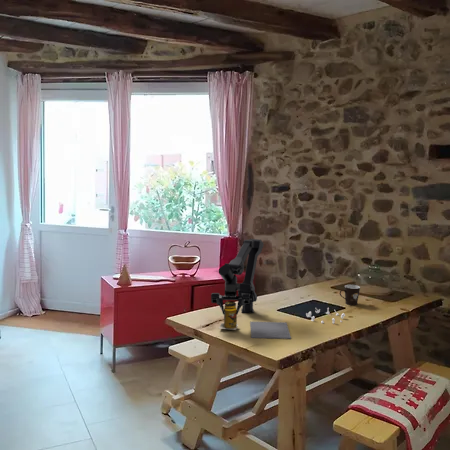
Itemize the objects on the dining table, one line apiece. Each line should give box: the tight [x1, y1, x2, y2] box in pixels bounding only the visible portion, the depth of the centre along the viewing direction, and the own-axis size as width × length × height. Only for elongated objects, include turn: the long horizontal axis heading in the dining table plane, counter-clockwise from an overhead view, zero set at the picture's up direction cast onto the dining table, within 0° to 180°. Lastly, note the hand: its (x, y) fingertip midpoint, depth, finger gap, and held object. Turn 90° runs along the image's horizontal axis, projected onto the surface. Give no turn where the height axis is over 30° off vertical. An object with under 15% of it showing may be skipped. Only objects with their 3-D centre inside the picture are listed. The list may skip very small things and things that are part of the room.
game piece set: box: [305, 307, 346, 324], centre depth 269 cm, size 19×20×4 cm
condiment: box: [218, 300, 239, 331], centre depth 247 cm, size 7×8×12 cm
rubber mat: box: [249, 321, 292, 340], centre depth 248 cm, size 22×18×1 cm
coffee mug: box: [339, 284, 361, 306], centre depth 295 cm, size 12×9×10 cm
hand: (230, 314), depth 246 cm, fingers closed on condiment, 6 cm apart
